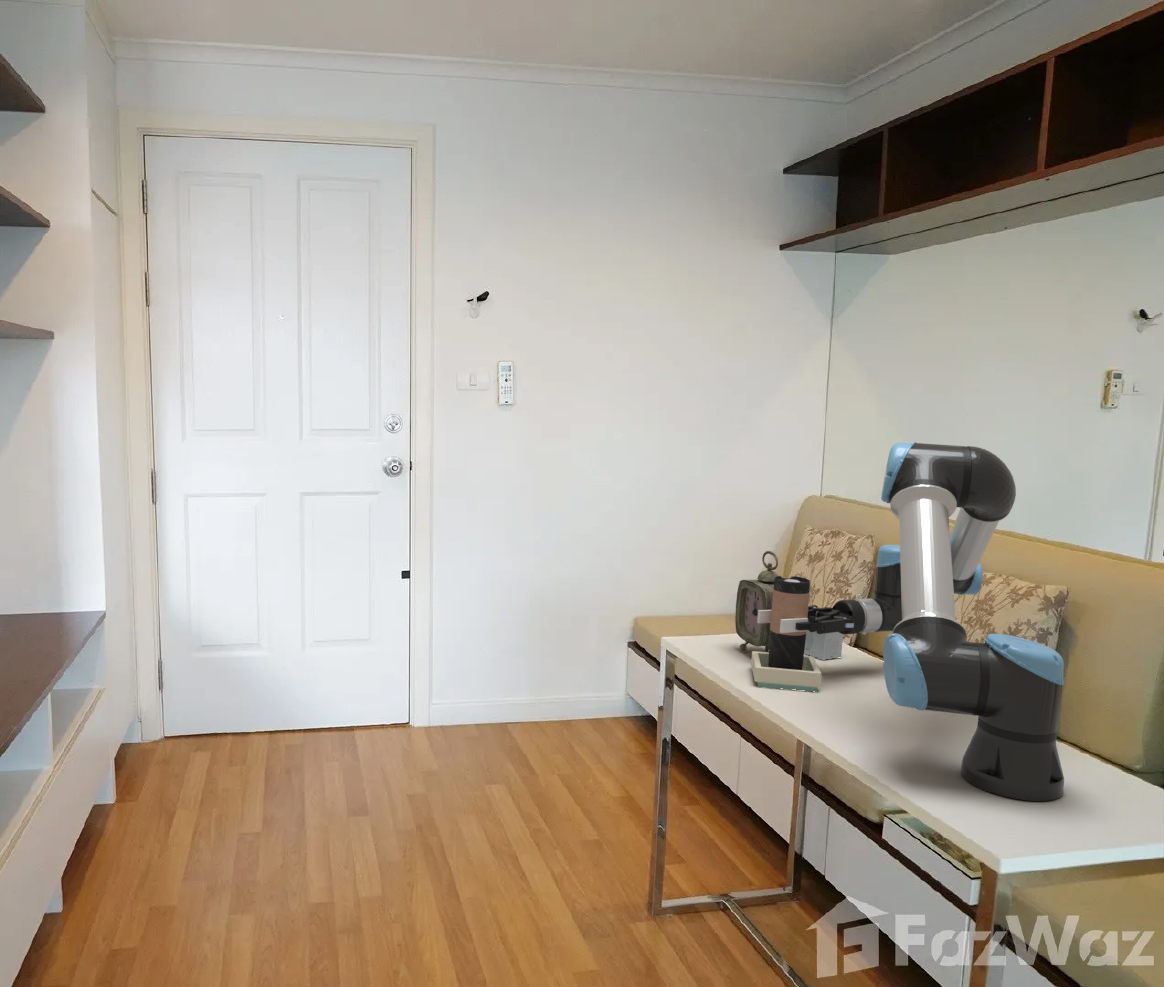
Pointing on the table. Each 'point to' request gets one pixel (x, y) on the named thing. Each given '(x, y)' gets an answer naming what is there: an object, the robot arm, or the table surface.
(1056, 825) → the table surface
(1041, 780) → the robot arm
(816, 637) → the skincare box
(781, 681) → the rectangular tray
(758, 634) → the tabletop clock
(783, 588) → the travel mug
